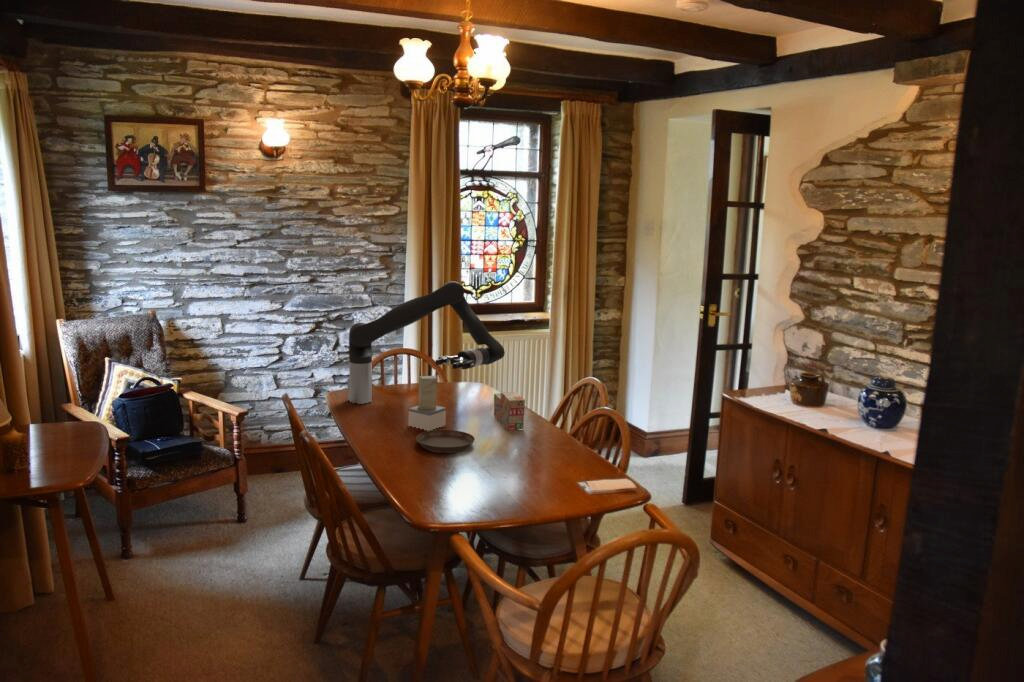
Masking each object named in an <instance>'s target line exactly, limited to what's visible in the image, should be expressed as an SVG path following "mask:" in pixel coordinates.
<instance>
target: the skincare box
mask: <svg viewBox="0 0 1024 682" xmlns="http://www.w3.org/2000/svg"><path fill="white" fill-rule="evenodd" d="M437 394H438V377H437V376H435V375H421V376H418V401H417V402H418V403H417V406H418V407H419V408H420V409H422V410H423V409H436V406H437V398H438V396H437Z"/></svg>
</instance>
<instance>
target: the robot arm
mask: <svg viewBox="0 0 1024 682" xmlns="http://www.w3.org/2000/svg"><path fill="white" fill-rule="evenodd" d="M449 305H450V307H451V308H452V309H453V311H455V313H456V315H458V317H459V319H460V320H461V322H462V323H463V325H464V327H465V328H466V330H467V332H468V334H470V337H471V338H472V340H473V341H474V342H475V344H476V345H478V346H481V345H485V346H487V347H485V348H484V347H478V348H472V349H465V350H462V351H459V352H458V353H457V354H456V355H452V356H450V355H449V354H447V355H442V356H438V359H435V366H440V365H446V366H451V369H453V370H457V369H461V370H468V369H473V368H476V367H479V366H482V365H486V366H487V365H491V364H493V363H495V362H497V361H500V360H501V359H503V358H504V356H505V353H506V351H505V348H504V346H503V345H502V344H501V342H499V341H498V340H497V339H496V338H494V336H493V335H491V334H490V332H489V330H488V329H487V327H485V324H483V322H482V320H481V319H480V318H479V316H477V314H476V313H475V311H473V309H472V308H471V306H470V305H469V303H468V301H467V300H466V297H465V289H464V286H463V284H461V283H460V282H458V281H455V280H453V281H451V280H450V281H447V282H446V283H444V284H443V285H442V286H440V287H439V288H437V289H435V290H434V291H432V292H430V293H428V294H425V295H421V296H419V297H415V298H412V299H410V300H408V301H405V302H403V303H400V304H399V305H398V304H397V306H395V307H393V308H391V309H390V310H389V311H387V312H386V313H385V314H384V315H382V316H380V317H379V318H377V319H374V320H372V321H370V322H368V323H364V322H356V323H354V324H353V325H352V326H351V327H350V329H349V332H348V346H349V347H348V355H349V357H348V358H349V365H348V367H349V369H348V371H349V375H348V376H349V378H347V401H348V400H349V401H350V402H349V401H348V402H349V403H351V402H352V403H351V404H354V403H357V404H356V405H365V403H366V404H369V402H370V403H372V389H373V388H372V387H373V385H372V384H373V372H372V371H373V353H372V343H373V342H375V341H377V340H378V339H380V338H382V337H384V336H385V335H388V334H391V333H393V332H396V331H398V330H400V329H402V328H405V327H408V326H409V325H412V324H414V323H416V322H418V321H420V320H422V319H423V318H425V317H427V316H429V315H430V314H432V313H433V312H435V311H437V310H439V309H441V308H445V307H447V306H449Z"/></svg>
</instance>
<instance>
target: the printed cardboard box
mask: <svg viewBox="0 0 1024 682" xmlns="http://www.w3.org/2000/svg"><path fill="white" fill-rule="evenodd" d="M493 401H494V402H493V416H494V415H495V416H496V417H497V418H496V417H495V416H494V417H495V418H496V419H497V421H498V422H500V424H502V426H503V425H504V426H505V427H504V426H503V427H504V428H505V429H506V430H507V432H508V431H509V430H514V431H519V430H518V429H523V430H524V425H525V423H524V421H525V406H526V405H525V404H526V400H525V398H524V397H523V396H521V395H520V393H518V392H516V391H501V392H500V393H494V394H493Z"/></svg>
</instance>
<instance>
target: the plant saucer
mask: <svg viewBox="0 0 1024 682" xmlns="http://www.w3.org/2000/svg"><path fill="white" fill-rule="evenodd" d="M415 438H416V439H415V440H416V441H417V443H418V444H419V445H420V447H422V448H423V449H424V450H426V451H429V452H433V453H439V454H453V453H460V452H463V451H465V450H467V449H468V448H470V447H471V446H472V444H473V443H474V442H475V440H476V439H475V436H474V435H473V434H470V433H469V432H465V431H461V430H454V429H434V430H431V431H424V432H421V433H419V434H417V436H416V437H415Z"/></svg>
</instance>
